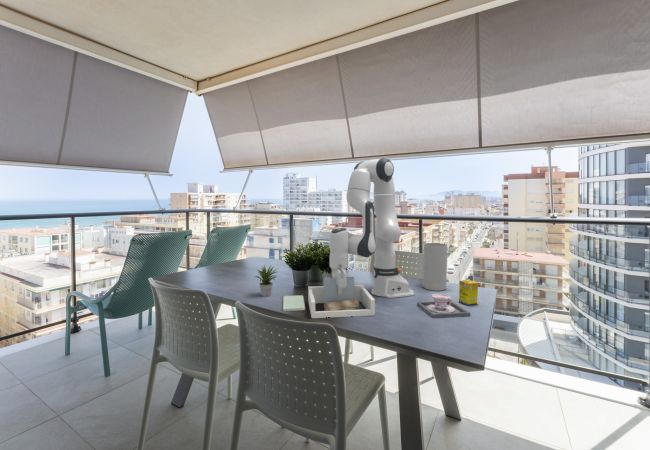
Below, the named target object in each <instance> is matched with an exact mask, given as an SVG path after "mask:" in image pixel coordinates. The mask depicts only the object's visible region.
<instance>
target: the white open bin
mask: <svg viewBox="0 0 650 450" xmlns="http://www.w3.org/2000/svg"><path fill="white" fill-rule="evenodd" d="M307 290H308V291H307V292H308V293H307V295H308V296H307V297H308V298H307V299H308V300H307V301H308V306H309V313H310V316H311V319H326V317H327V319H329V318H328V317H330V318H344V317H345V318H350V317H351V316H353V317H369V316H370V317H373V316H374V315H376V313H375V311H376V299H375V298H374V297H373V296H372V294H370V292H369V291H368V289H366V288H365V285H364V284H354V300H355V301H357V302H358V303H362V305H363V306H364V309H358V310H339V311H324V310H321V311H320V310H319V311H317V310H316V304H324V285H321V286H320V285H319V286H318V285H317V286H308V289H307Z"/></svg>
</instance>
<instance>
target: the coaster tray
mask: <svg viewBox="0 0 650 450" xmlns="http://www.w3.org/2000/svg"><path fill="white" fill-rule="evenodd" d="M431 304H432V305H435V301H434V300H432V301H417V302H416V306H417V307H418V308H419V309H421V310H422V311H424V312H425V313H426V314H427V315H428V316H429V317H431V318H432V319H436V318H437V319H440V318H443V319H444V318H458V317H461V318H462V317H471V312H469V311H468V310H467V309H465V308H463V307H461V306H460V305H458V304H456V303H455V302H454V301H451V304H450V301H448V302H447V305H449V304H450V305H449V306H451V307H453V308H454V309H455V310H457V311H459V312H452V313H438V312H436V313H435V312H433V311H431V310H429V309H428V307H427V306H428V305H431Z"/></svg>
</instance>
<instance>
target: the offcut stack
mask: <svg viewBox="0 0 650 450" xmlns="http://www.w3.org/2000/svg"><path fill="white" fill-rule="evenodd" d="M358 307H360V302H357V301H355V300H354V299H353V300H344V301H335V302H326V303H325V309H323V311H339V310H359V309H358Z"/></svg>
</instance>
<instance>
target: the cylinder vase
mask: <svg viewBox="0 0 650 450" xmlns="http://www.w3.org/2000/svg"><path fill="white" fill-rule="evenodd" d="M447 269H448V244H447V243H442V242H441V243H440V242H426V243H423V269H422V271H423V272H422V277H423V278H422V287H423V288H424V289H425V290H428V291H433V290H434V292H435V291H437V292H439V291H440V292H441V291H445V290H446V289H447V280H448V279H447V275H448V274H447V273H448V272H447Z"/></svg>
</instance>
